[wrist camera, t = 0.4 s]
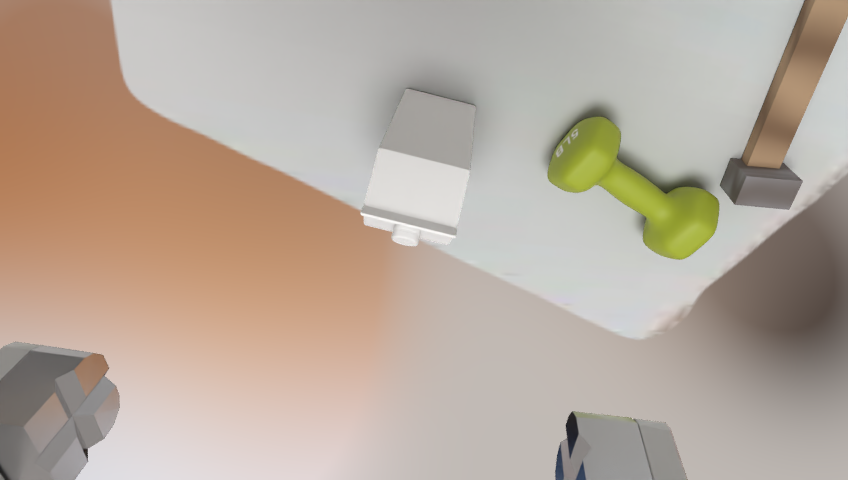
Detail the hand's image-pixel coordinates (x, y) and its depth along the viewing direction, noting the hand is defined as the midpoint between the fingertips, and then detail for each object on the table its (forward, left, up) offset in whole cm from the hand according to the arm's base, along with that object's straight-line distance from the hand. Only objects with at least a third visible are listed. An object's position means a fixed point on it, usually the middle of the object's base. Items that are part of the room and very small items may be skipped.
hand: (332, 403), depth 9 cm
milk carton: (+13, -2, -46) cm, 48 cm away
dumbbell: (+16, +18, -46) cm, 52 cm away
